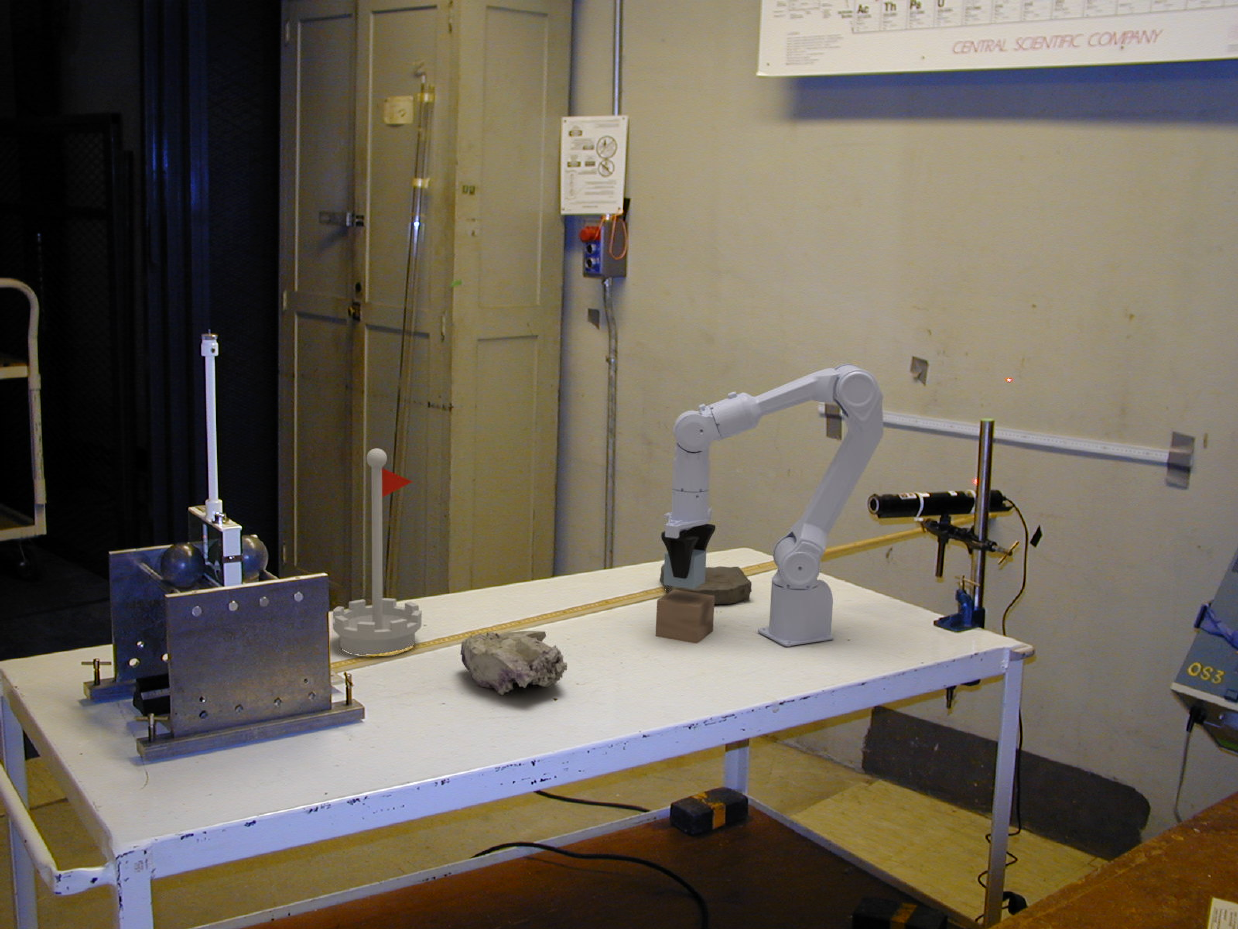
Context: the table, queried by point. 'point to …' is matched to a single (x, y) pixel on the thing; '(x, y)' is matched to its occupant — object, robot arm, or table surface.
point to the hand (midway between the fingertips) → (687, 573)
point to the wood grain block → (685, 616)
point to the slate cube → (695, 571)
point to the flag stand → (378, 586)
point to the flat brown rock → (720, 584)
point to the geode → (512, 660)
